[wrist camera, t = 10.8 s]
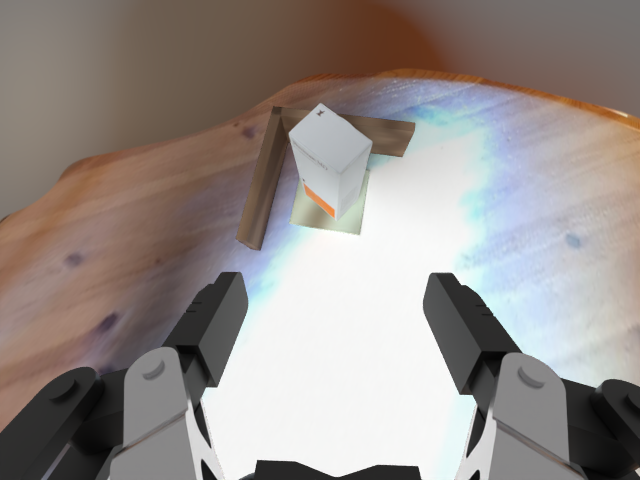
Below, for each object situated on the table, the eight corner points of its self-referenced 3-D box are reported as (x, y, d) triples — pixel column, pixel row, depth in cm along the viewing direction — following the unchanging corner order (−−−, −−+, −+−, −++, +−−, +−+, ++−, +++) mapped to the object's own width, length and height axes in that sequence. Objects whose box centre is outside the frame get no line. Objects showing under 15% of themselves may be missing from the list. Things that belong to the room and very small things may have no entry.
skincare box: (302, 194, 31) (285, 131, 20) (325, 172, 32) (320, 99, 20) (337, 223, 30) (339, 175, 19) (359, 200, 31) (375, 139, 19)
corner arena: (251, 249, 30) (235, 238, 25) (281, 133, 34) (273, 106, 29) (388, 273, 29) (399, 267, 24) (403, 149, 33) (415, 122, 28)
